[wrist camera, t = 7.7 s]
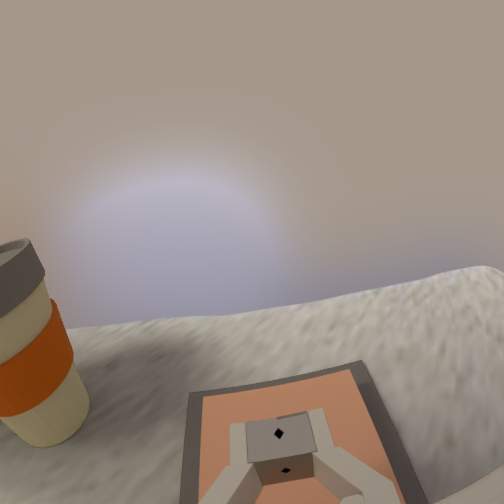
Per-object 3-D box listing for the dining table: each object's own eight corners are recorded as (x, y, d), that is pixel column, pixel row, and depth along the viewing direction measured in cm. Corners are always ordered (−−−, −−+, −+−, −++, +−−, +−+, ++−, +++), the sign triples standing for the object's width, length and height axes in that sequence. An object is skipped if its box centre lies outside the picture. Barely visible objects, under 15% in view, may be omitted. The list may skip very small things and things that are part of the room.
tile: (424, 555, 7) (349, 368, 20) (197, 596, 7) (203, 396, 20) (411, 562, 8) (348, 392, 21) (213, 599, 8) (212, 418, 21)
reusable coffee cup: (3, 475, 14) (-108, 329, 9) (9, 391, 25) (-57, 272, 19) (119, 438, 20) (18, 266, 14) (97, 356, 30) (41, 226, 24)
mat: (438, 536, 9) (440, 534, 9) (178, 584, 9) (175, 583, 9) (361, 363, 24) (361, 359, 23) (190, 395, 24) (189, 392, 23)
